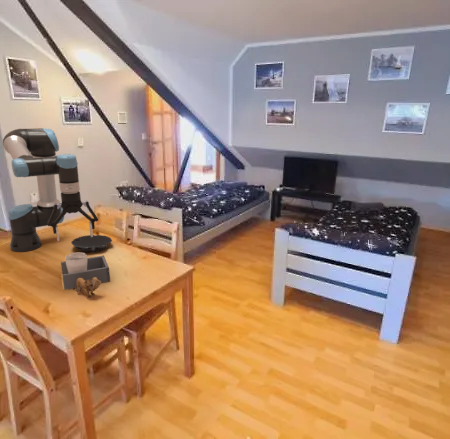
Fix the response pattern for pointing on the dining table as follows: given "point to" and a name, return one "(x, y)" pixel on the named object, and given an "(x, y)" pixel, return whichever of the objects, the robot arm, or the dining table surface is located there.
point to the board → (91, 243)
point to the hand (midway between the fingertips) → (75, 238)
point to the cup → (76, 262)
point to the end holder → (86, 272)
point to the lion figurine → (87, 285)
